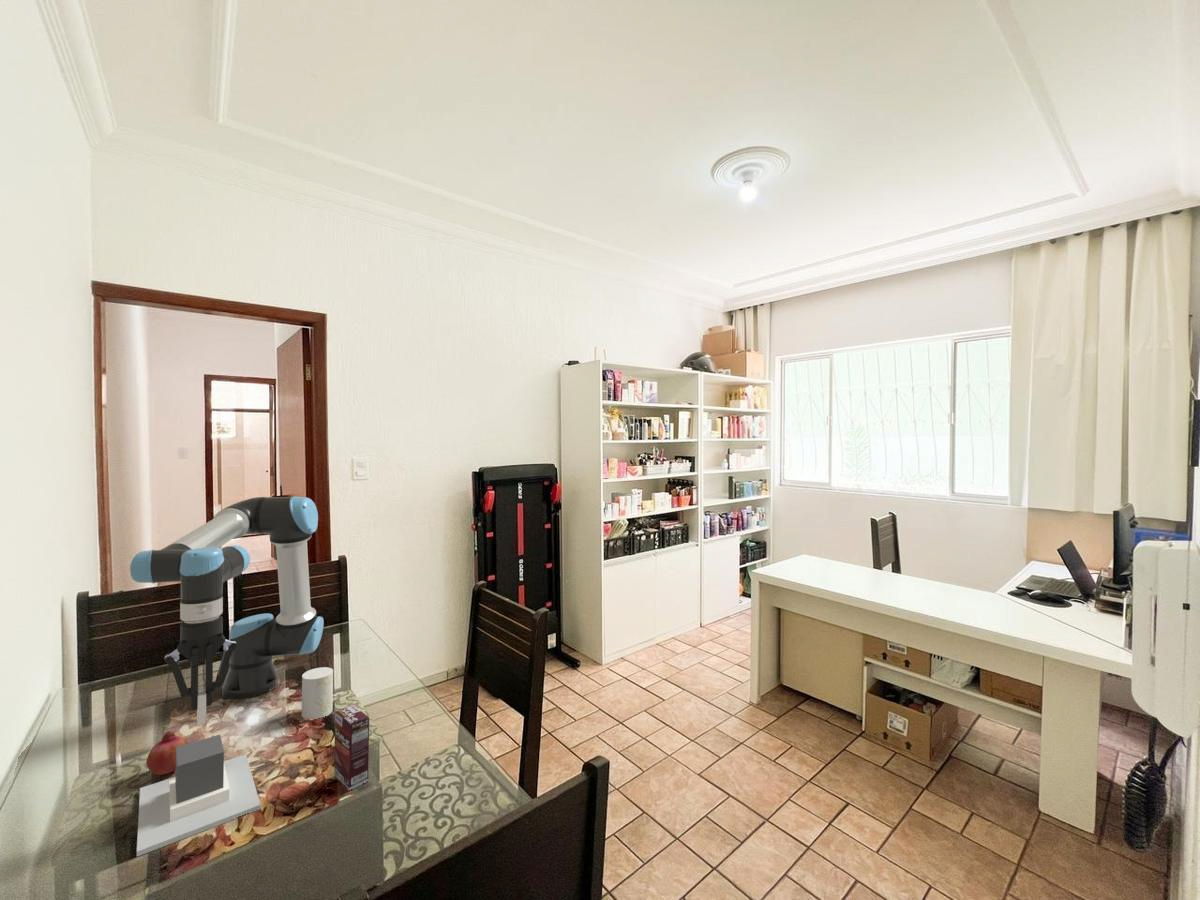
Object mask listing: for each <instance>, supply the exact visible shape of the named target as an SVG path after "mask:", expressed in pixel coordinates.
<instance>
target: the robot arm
mask: <svg viewBox="0 0 1200 900" xmlns="http://www.w3.org/2000/svg"><path fill="white" fill-rule="evenodd" d="M318 523H319V512H318V507H317V506H316V503H315V502H314V501H313V500H312V499H311V498H309V497H306V496H305V497H303V496H301V497H300V496H295V495H294V496H270V497H269V496H267V497H265V496H258V497H252V498H249V499H243V500H241V501H238V502H236V503H232V504H231V505H228V506H227V507H225V508H223V509H221V510H220V511H218V512H216V514H215V515H214V517H213V519H211V520H209V521H208V522H205V523H204V524H202V525H200V526H199V527H198V528H195V529H194V530H192V531H190V532H189V533H187V534H185V535H183V536H182V537H180V538H179V539H176V540H175V541H174V542H171V543H170V544H168V545H167V546H165V547H163V548H161V549H151V550H141V551H140V552H138V553H137V554H135V555H134V557H133V558H132V560H131V562H130V565H129V573H130V577H131V579H132V580H134V581H135V582H136V583H140V584H141V583H149V584H155V583H156V584H157V583H177V582H178V583H179V584H180V603H179V605H180V606H179V607H180V608H179V611H180V612H179V613H180V614H179V615H180V616H179V617H180V618H179V619H180V620H181V622H180V624H179V625H180V626H179V628H180V629H179V630H180V631H179V632H180V633H179V636H180V637H179V643H178V644H177V646H176V649H175V650H173V651H172V652H171V653H166V654H165V655H164V662H165V663H166V664H167V666H169V667H170V668H171V671H172V673H173V674H172V675H173V677H174V679H175V683H176V686H177V688H178V689H177V690H178V692H179V694H180V696H181V697H182V698H183V697H190V709H191V711H196V723H197V726H200V725H203V724H206V723H207V707H210V706H212V704H213V693H214V690H216V689H218V688H221V695H222V697H223V698H225V699H228V700H241V699H248V698H252V697H257V696H260V695H263V694H265V693H264V692H266V693H267V691H268V692H269V690H270V689H272V688H273V687H274V688H276V687H277V686H276V685H278V684H277V683H279V676H278V673H277V670H276V667H275V664H274V662H273V657H278V656H293V655H294V656H295V655H296V656H297V655H299V656H301V655H305V654H312V653H314V652H315V651H316V650H317V648H318V647H319V644H320V643H321V639H322V635H323V631H324V624H325V623H324V618H323V616H317V610H316V609H315V607H312V605H311V603H312V602H311V588H310V573H309V571H310V570H309V556H308V555H309V553H308V551H309V550H308V541H309V540H310V539H311V538H312V537H313V536H312V535H313V533H315V532H316V531H317V529H318V526H319V525H318ZM246 535H268V536H269V542H270V543H271V544H272V545H274V546H275V554H276V563H277V564H276V565H277V578H278V592H279V606H280V609H279V610H280V613H279V614H278V615H277V616H276V617H275V618H274V615H273V614H272V613H266V612H265V613H261V614H260V613H259V614H255V615H250V616H247V617H244V618H241V619H239V620H237V621H235V622H234V623H233V624H232V625H231V626H230V632H229V637H228V639H226V636H225V635H224V632H223V631H224V630H223V629H224V617H223V616H222V615H223V611H224V608H223V607H224V606H223V605H224V602H223V601H224V597H223V596H224V593H223V591H224V583H225V582H227V581H229V580H231V579H233V578H236V577H238V576H240V575H241V574H242V573H243V572H244V571H246V570H247V568H248V567H249V565H250V563H251V556H250V553H249V552H248V550H247V549H246V548H244V547H243V546H241V545H227V546H225V547H224V545H225V544H227V543H228V542H230V541H232V540H236V539H239V538H242V537H244V536H246ZM222 646H223V647H222ZM221 648H223V653H222V657H221V660H220V664H219V667H218V670H217V674H216V677H215V680H214V675H213V673H214V670H213V669H214V663H213V662H214V657H215V655H216V654H217V653H218V652H219V650H220V649H221ZM180 655H182V657H184V658H185V659H186V660H188V661H189V662H190V687H187V683H186V680H185V678H184V675H183V672H182V668H181V665H180V664H179V661H180ZM201 660H202V661H203V660H204V663H205V667H204V672H205V673H204V677H205V678H204V689H203V690H199V661H201ZM228 667H229V668H228ZM227 671H228V672H227ZM275 686H276V687H275ZM274 688H273V689H274ZM273 689H272V690H273ZM270 691H271V690H270ZM262 693H263V694H262ZM259 694H260V695H259Z"/></svg>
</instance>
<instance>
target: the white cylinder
mask: <svg viewBox="0 0 1200 900" xmlns="http://www.w3.org/2000/svg"><path fill="white" fill-rule="evenodd" d="M333 694H334V669H333V668H331V667H329V666H328V667H327V666H325V667H321V666H320V667H316V668H312V669H309V670H306V671H305V672H304V673H303V674H302V676H301V718H302V717H303V718H306V719H314V718H321V717H324V718H326V717H328V716H329V715H331V714H332V712H333V709H334V708H333V707H334V706H333V705H334V704H333V703H334V697H333V696H334V695H333ZM325 716H326V717H325ZM321 719H322V718H321Z"/></svg>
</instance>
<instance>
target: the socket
mask: <svg viewBox="0 0 1200 900" xmlns="http://www.w3.org/2000/svg"><path fill="white" fill-rule="evenodd" d="M175 780H176V776H174V777H170V778H168V779H163V780H162V781H158V782H155V783H151V784H148V785H146V786H143V787H140V788H139V803H138V821H137V837H136V839H137V840H136V857H139V856H143V855H145V854H147V853H151V852H152V851H156V850H158V849H161V848H164V847H165V846H168V845H171V844H173V843H176V842H179V841H181V840H184V839H187V838H189V837H192V836H194V835H197V834H199V833H202V832H204V831H207V830H210V829H212V828H215V827H218V826H220V825H223V824H225V823H229V822H230V820H231V821H233V820H232V819H234V818H236V819H238V818H237V817H239V816H241V817H243V816H242V815H244V814H246V815H248V814H247V813H249V814H252V813H254V812H256V811H259V810H261V801H260V798H259V795H258V792H257V787H256V785H255V782H254V778H253V774H252V771H251V767H250V763H249V760H248V756H247V754H242V755H239V756H236V757H233V758H229V759H227V760H224V780H223V788H221V789H218V790H215V791H212V792H210V793H207V794H204V795H201V796H198V797H195V798H192V799H189V800H187V801H184V802H181V803H178V804H176V784H175ZM244 816H245V815H244ZM239 818H240V817H239ZM234 820H235V819H234Z"/></svg>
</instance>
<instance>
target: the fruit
mask: <svg viewBox="0 0 1200 900" xmlns="http://www.w3.org/2000/svg"><path fill="white" fill-rule="evenodd" d="M186 744H189V741H188V740H187V739H186V738H185V737H183V736H178V735H176V734H175V733H174V731H172V730H171V731H165V733H164V735H163V737H162V738H161V740H160V741H158V742H157V743H156V744H155V745H154V746H153V747H152V748H151V749H150V751H149V753H148V755H147V757H146V766H147V768H148V770H149V771H150V772H151V773H152V774H154V775H155V774H156V775H158V776H163V775H167V774H168V775H169V774H170V773H172V772H174V771H176V747H179V746H182V745H186Z"/></svg>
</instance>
